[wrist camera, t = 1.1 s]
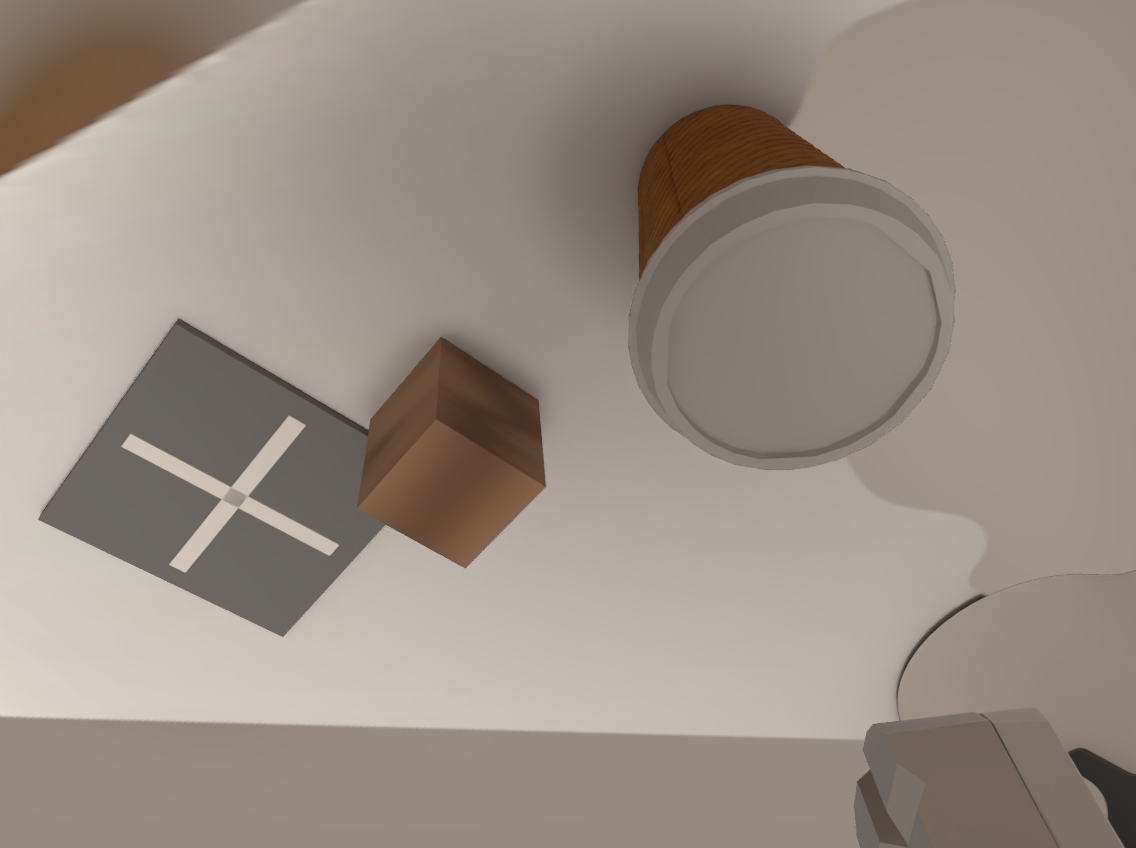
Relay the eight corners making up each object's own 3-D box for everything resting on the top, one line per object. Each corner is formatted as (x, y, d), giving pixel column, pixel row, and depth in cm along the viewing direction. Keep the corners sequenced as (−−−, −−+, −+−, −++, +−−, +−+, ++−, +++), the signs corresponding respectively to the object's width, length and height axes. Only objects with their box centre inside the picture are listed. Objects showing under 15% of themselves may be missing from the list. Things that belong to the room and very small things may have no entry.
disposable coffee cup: (871, 248, 41) (996, 417, 31) (643, 335, 43) (693, 522, 33) (812, 13, 36) (938, 127, 26) (555, 121, 38) (582, 267, 28)
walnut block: (538, 399, 44) (545, 486, 39) (466, 476, 46) (465, 568, 41) (441, 336, 42) (436, 419, 37) (370, 419, 44) (356, 508, 39)
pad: (431, 468, 46) (431, 475, 45) (284, 630, 50) (282, 638, 50) (178, 318, 41) (175, 324, 40) (41, 513, 46) (37, 520, 45)
